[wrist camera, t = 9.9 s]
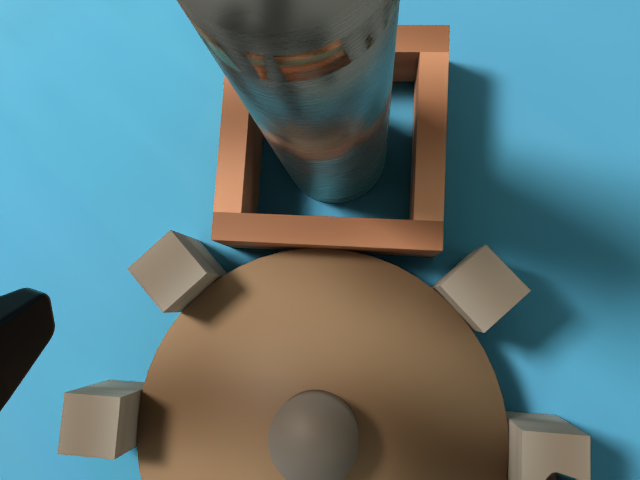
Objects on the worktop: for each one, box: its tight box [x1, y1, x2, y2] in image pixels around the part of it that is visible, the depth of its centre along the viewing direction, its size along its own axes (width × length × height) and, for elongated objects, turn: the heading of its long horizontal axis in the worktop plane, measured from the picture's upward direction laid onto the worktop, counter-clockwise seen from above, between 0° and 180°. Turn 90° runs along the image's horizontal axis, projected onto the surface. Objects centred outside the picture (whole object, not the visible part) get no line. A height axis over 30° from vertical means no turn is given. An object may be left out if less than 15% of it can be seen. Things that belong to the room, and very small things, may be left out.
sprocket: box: [58, 25, 590, 480], centre depth 18 cm, size 23×17×3 cm
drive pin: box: [177, 0, 400, 203], centre depth 14 cm, size 4×4×13 cm
